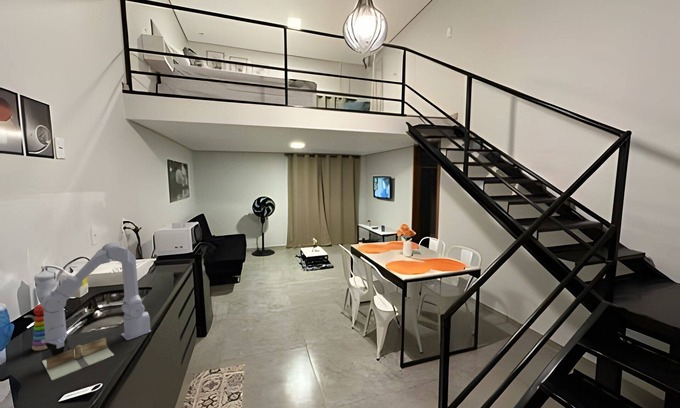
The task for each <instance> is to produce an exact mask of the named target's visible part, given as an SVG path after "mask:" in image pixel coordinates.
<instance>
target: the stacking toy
mask: <svg viewBox="0 0 680 408" xmlns="http://www.w3.org/2000/svg"><path fill="white" fill-rule="evenodd" d="M33 313H34V314H33V315H35V317H34V322H33V326H34V327H33V332H32V334H33V336H32V339H33V340H32V343H31V344H32V346H31V349H32V350H33V351H37V352H38V351H44V350H48V348H47V346H46V343H47V342H45V343H41V340H43V339H45V328H44V308H43V307H42V306H41V304H38V305H36V306H35V307H34V308H33Z"/></svg>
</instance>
